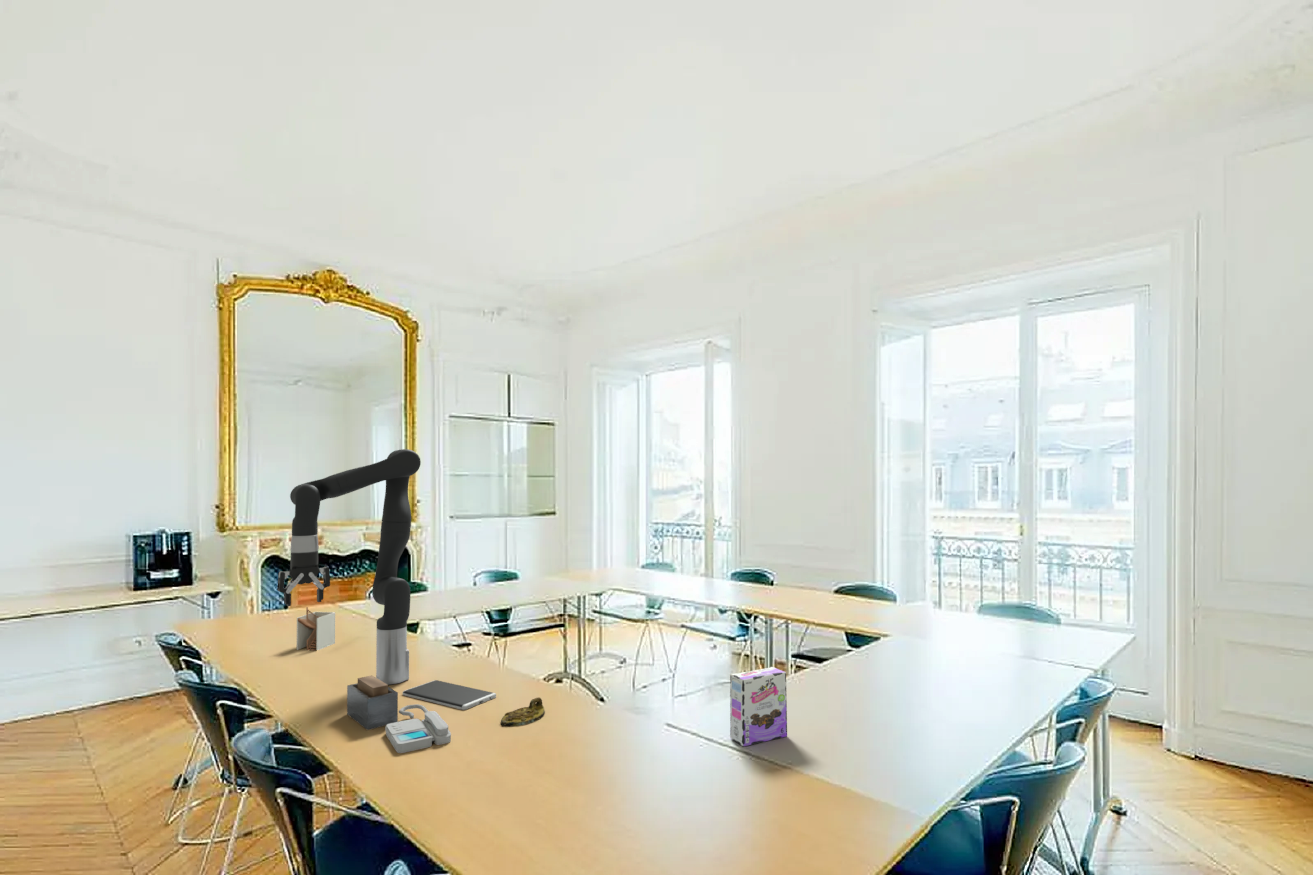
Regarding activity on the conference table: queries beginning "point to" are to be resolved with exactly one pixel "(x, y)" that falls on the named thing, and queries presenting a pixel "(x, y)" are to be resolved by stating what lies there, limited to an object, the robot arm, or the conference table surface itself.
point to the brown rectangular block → (372, 686)
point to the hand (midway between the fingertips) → (304, 603)
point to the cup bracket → (372, 707)
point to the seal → (525, 714)
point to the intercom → (417, 731)
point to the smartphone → (449, 694)
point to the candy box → (758, 706)
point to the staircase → (316, 630)
